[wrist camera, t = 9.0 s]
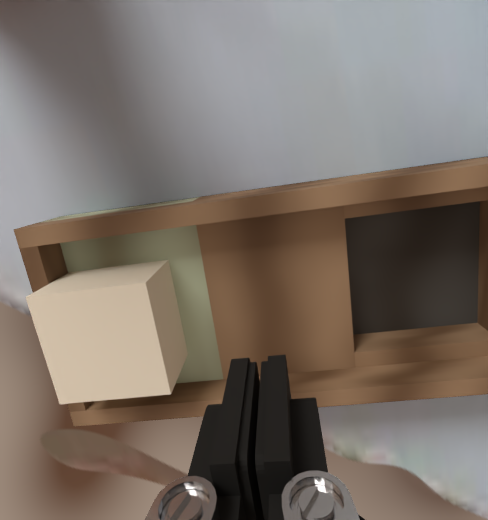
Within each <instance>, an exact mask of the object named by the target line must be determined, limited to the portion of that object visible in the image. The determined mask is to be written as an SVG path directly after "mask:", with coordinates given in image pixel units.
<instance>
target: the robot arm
mask: <svg viewBox="0 0 488 520" xmlns="http://www.w3.org/2000/svg"><path fill="white" fill-rule="evenodd" d="M145 520H365V519H363V518H362V517H361V516H359V515H358V513H357V511H356V508H355V505H354V503H353V500H352V498H351V495H350V493H349V491H348V489H347V488H346V486H345V484H343V483H342V482H341V481H340V480H339V479H338V478H337V477H335V476H333V475H331V474H329V473H328V470H327V464H326V457H325V451H324V445H323V439H322V432H321V426H320V420H319V413H318V407H317V401H316V397H313V398H299V399H291V392H290V384H289V376H288V368H287V360H286V355H274V356H268V361H262V362H261V374H260V380H259V373H258V367H257V362H250V358H238V359H231V363H230V367H229V372H228V377H227V381H226V386H225V391H224V396H223V400H222V404H211V405H208V406H207V407H206V410H205V413H204V417H203V421H202V425H201V428H200V432H199V436H198V440H197V443H196V447H195V451H194V455H193V459H192V462H191V466H190V469H189V473H188V476H186V477H182V478H179V479H176V480H175V481H173V482H171V483H170V484H168V485H167V486H166V487H165V488H164V489H163V490H161V491H160V493H159V494H158V496H157V497H156V499H155V500H154V502H153V504H152V506H151V508H150V510H149V512H148V514H147V516H146V518H145Z"/></svg>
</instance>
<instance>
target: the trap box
mask: <svg viewBox="0 0 488 520" xmlns="http://www.w3.org/2000/svg"><path fill="white" fill-rule="evenodd" d="M14 232H15V236H16V239H17V242H18V245H19V249H20V252H21V255H22V258H23V262H24V265H25V268H26V271H27V275H28V278H29V281H30V284H31V288H32V291H33V293H34V292H36V291H37V290H39V289H41V288H43V287H44V286H46V285H48V284H50V283H52V282H53V281H55V280H57V279H59V278H60V277H62V276H64V275H66V274H67V273H69V272H76V271H84V270H92V269H100V268H108V267H115V266H123V265H131V264H139V263H146V262H154V261H162V260H169V265H170V270H171V275H172V279H173V284H174V289H175V294H176V299H177V303H178V308H179V313H180V318H181V323H182V328H183V332H184V337H185V342H186V347H187V352H188V355H187V357H186V360H185V362H184V365H183V367H182V369H181V372H180V374H179V377H178V379H177V381H176V384H175V386H174V388H173V391H172V393H171V394H169V395H158V396H147V397H136V398H125V399H113V400H102V401H91V402H80V403H69V404H67V405H68V408H69V411H70V414H71V418H72V421H73V424H74V426H83V425H96V424H109V423H122V422H135V421H148V420H161V419H172V418H173V419H174V418H186V417H199V416H204V413H205V410H206V407H207V406H208V405H211V404H222V400H223V396H224V391H225V386H226V381H227V377H228V372H229V367H230V363H231V359H238V358H250V362H257V367H258V373H259V380H260V374H261V362H262V361H268V356H274V355H286V360H287V368H288V376H289V384H290V392H291V399H299V398H313V397H316V401H317V407H328V406H341V405H353V404H366V403H379V402H392V401H405V400H418V399H430V398H443V397H456V396H469V395H482V394H488V157H481V158H474V159H467V160H460V161H452V162H445V163H438V164H431V165H424V166H417V167H410V168H403V169H395V170H388V171H381V172H374V173H367V174H360V175H353V176H346V177H339V178H331V179H324V180H317V181H310V182H303V183H296V184H289V185H282V186H274V187H267V188H260V189H253V190H246V191H239V192H232V193H225V194H217V195H210V196H203V197H196V198H189V199H182V200H175V201H168V202H160V203H153V204H146V205H139V206H132V207H125V208H118V209H111V210H103V211H96V212H89V213H82V214H75V215H68V216H61V217H57V218H54V219H50V220H47V221H43V222H39V223H36V224H32V225H29V226H25V227H21V228H18V229H14Z"/></svg>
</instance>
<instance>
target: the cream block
mask: <svg viewBox="0 0 488 520" xmlns="http://www.w3.org/2000/svg"><path fill="white" fill-rule="evenodd" d="M26 300H27V303H28V306H29V309H30V312H31V315H32V319H33V322H34V325H35V327H36V331H37V334H38V337H39V340H40V344H41V347H42V350H43V353H44V356H45V359H46V362H47V365H48V368H49V372H50V375H51V378H52V381H53V384H54V388H55V391H56V394H57V397H58V400H59V403H60V404H69V403H80V402H91V401H102V400H113V399H125V398H136V397H147V396H158V395H169V394H171V393H172V391H173V388H174V386H175V384H176V381H177V379H178V377H179V374H180V372H181V369H182V367H183V365H184V362H185V360H186V357H187V355H188V352H187V347H186V342H185V337H184V332H183V328H182V323H181V318H180V313H179V308H178V303H177V299H176V294H175V289H174V284H173V279H172V275H171V270H170V265H169V260H162V261H154V262H146V263H139V264H131V265H123V266H115V267H108V268H100V269H92V270H84V271H76V272H69V273H67V274H66V275H64V276H62V277H60V278H59V279H57V280H55V281H53V282H52V283H50V284H48V285H46V286H44V287H43V288H41V289H39V290H37V291H36V292H34V293H32V294H30V295H29V296H27V297H26Z"/></svg>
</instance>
